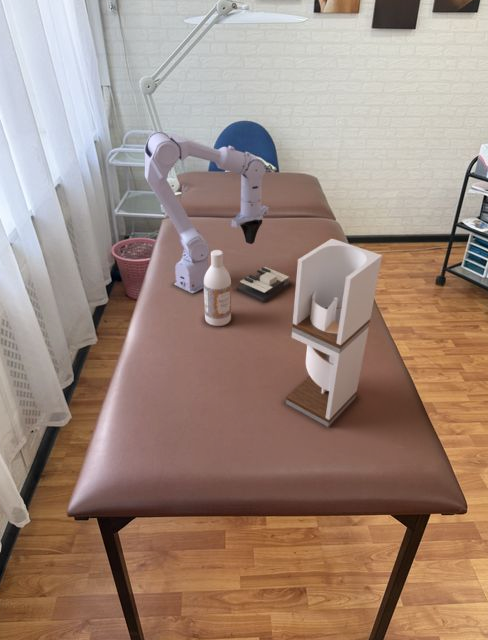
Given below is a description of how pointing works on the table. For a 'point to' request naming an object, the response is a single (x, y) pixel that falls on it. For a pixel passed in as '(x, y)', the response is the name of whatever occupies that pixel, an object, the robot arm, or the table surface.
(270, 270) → the piano keys trim
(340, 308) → the white tower
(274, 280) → the square cream block
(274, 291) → the toy piano
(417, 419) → the table surface
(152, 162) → the robot arm
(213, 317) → the bath foam
